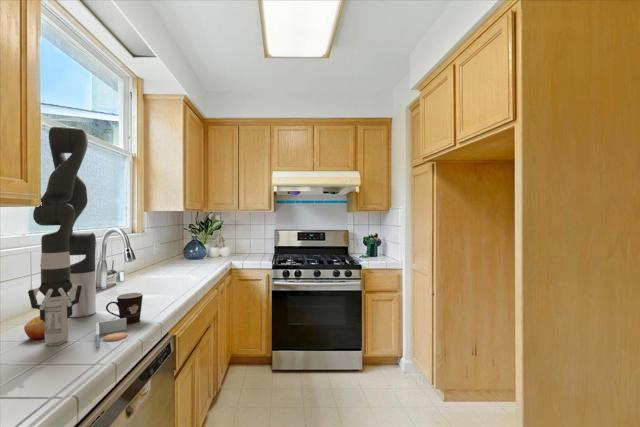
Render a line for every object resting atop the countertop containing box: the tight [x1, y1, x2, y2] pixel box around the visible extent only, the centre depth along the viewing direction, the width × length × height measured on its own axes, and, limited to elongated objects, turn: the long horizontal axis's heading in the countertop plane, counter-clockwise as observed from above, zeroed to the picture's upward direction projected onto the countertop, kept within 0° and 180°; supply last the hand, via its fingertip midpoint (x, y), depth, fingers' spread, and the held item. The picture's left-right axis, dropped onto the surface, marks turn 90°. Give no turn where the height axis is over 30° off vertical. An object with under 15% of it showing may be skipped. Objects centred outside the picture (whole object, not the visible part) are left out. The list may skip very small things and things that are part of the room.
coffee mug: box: [105, 292, 144, 326], centre depth 133 cm, size 12×9×10 cm
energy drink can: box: [44, 296, 69, 347], centre depth 113 cm, size 6×6×15 cm
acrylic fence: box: [95, 318, 127, 349], centre depth 117 cm, size 14×9×4 cm, turn 32°
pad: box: [102, 331, 129, 342], centre depth 117 cm, size 7×7×1 cm
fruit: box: [23, 315, 45, 340], centre depth 118 cm, size 8×8×8 cm
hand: (56, 319), depth 113 cm, fingers closed on energy drink can, 5 cm apart
